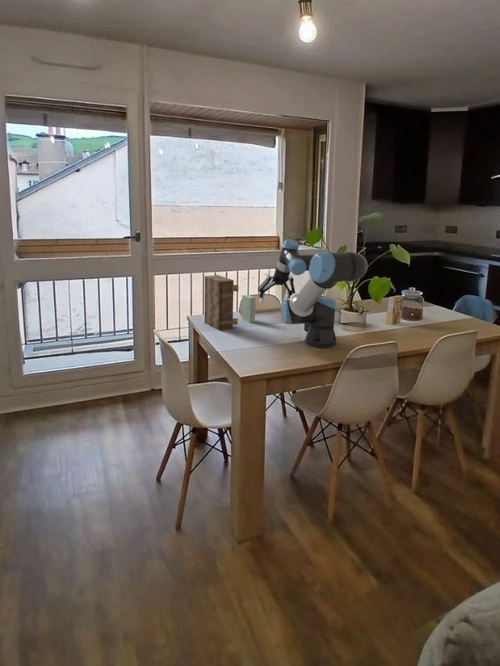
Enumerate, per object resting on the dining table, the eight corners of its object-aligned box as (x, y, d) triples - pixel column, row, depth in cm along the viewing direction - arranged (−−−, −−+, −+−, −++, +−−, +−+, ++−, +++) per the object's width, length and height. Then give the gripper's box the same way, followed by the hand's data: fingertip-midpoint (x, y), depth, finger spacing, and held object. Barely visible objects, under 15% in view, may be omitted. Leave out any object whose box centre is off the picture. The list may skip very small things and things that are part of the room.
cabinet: (237, 329, 259) (239, 280, 251) (221, 331, 253) (222, 282, 246) (220, 320, 273) (221, 274, 265) (204, 323, 268) (204, 276, 260)
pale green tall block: (256, 321, 273) (257, 297, 269) (249, 322, 271) (250, 298, 267) (248, 318, 280) (248, 294, 275) (241, 319, 277) (242, 295, 273)
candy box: (394, 320, 284) (397, 295, 280) (400, 322, 281) (404, 296, 276) (385, 323, 279) (388, 297, 274) (391, 325, 276) (394, 298, 271)
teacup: (353, 325, 272) (355, 311, 270) (334, 324, 272) (335, 310, 270) (349, 318, 286) (350, 305, 283) (331, 318, 286) (332, 304, 283)
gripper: (303, 266, 251) (292, 299, 264) (258, 263, 243) (248, 297, 255) (308, 274, 245) (296, 307, 258) (262, 271, 237) (252, 306, 250)
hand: (272, 302), depth 257 cm, fingers open, 13 cm apart
